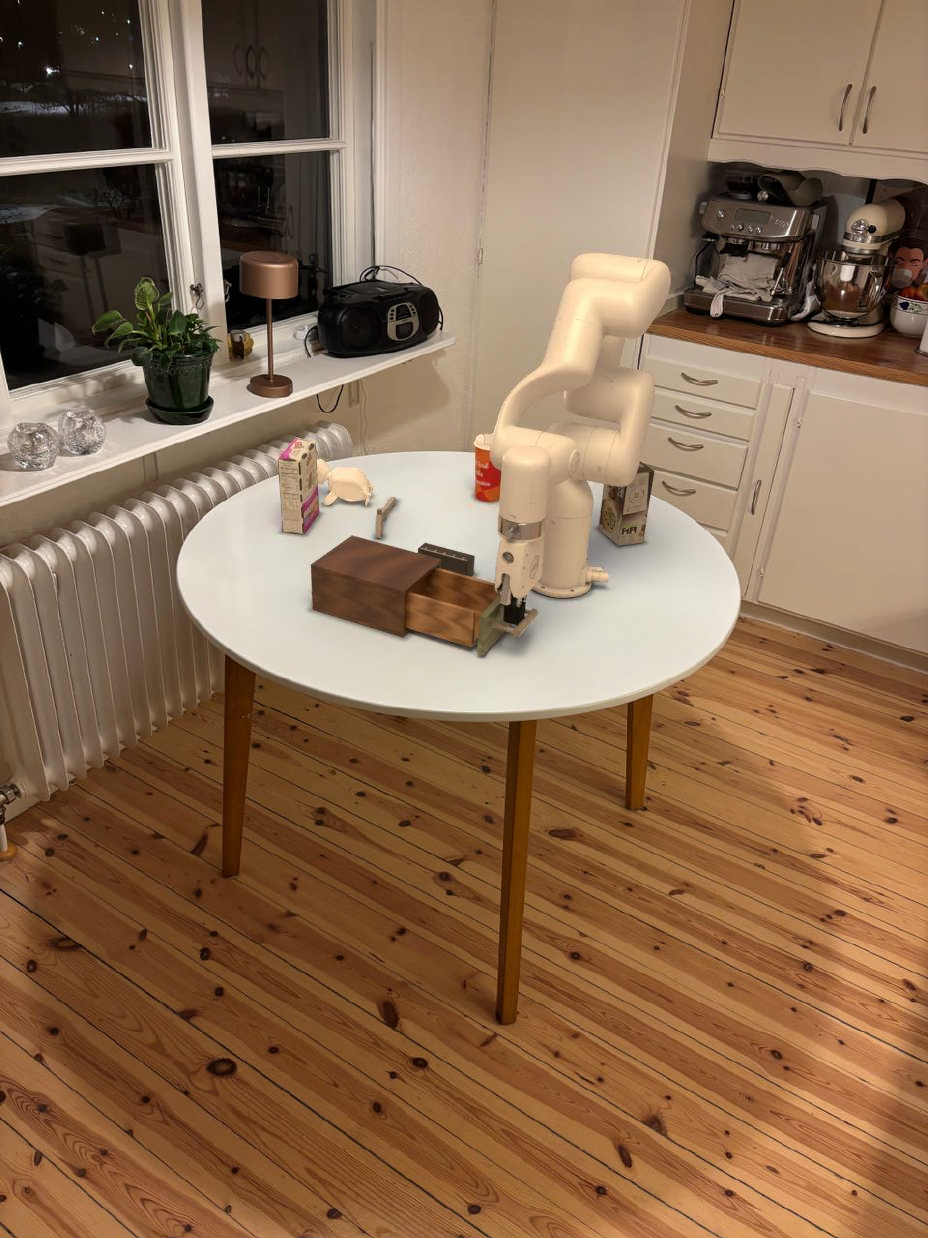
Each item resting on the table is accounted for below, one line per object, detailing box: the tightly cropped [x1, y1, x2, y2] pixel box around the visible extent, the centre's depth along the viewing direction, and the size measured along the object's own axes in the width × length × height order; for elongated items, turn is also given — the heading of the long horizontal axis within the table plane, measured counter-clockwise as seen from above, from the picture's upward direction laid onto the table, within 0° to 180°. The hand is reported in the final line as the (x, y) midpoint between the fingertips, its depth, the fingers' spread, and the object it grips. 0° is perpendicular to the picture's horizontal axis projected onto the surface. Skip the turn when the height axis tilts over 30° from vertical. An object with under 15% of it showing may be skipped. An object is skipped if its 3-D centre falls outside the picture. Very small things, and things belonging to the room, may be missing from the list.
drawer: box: [406, 567, 539, 656], centre depth 163 cm, size 23×12×7 cm, turn 64°
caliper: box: [375, 496, 397, 539], centre depth 202 cm, size 20×1×6 cm, turn 174°
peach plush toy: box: [317, 458, 375, 507], centre depth 209 cm, size 9×8×15 cm
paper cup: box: [473, 433, 501, 503], centre depth 212 cm, size 8×8×14 cm
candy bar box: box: [277, 438, 320, 535], centre depth 195 cm, size 11×5×16 cm, turn 171°
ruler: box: [417, 542, 476, 577], centre depth 184 cm, size 11×3×4 cm, turn 64°
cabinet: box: [310, 534, 441, 638], centre depth 169 cm, size 19×14×9 cm
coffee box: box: [598, 460, 656, 547], centre depth 198 cm, size 9×6×16 cm
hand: (513, 621), depth 160 cm, fingers closed
